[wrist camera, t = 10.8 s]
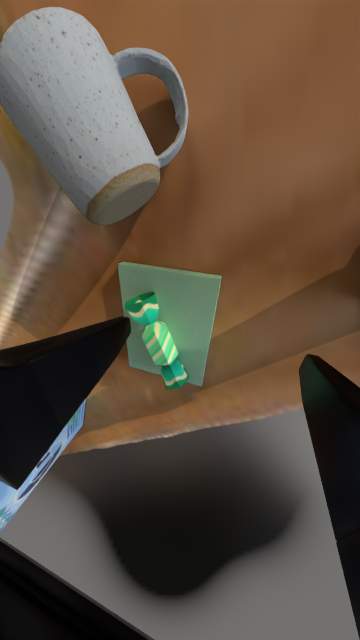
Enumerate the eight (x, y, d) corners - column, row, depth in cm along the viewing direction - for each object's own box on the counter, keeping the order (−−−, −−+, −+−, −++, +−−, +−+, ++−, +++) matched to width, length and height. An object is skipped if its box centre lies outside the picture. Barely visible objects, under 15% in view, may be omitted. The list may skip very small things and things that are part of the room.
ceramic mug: (123, 229, 19) (66, 235, 13) (70, 146, 17) (-32, 103, 11) (211, 152, 15) (191, 101, 8) (155, 21, 12) (62, -201, 6)
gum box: (83, 424, 48) (-22, 563, 29) (66, 415, 48) (-49, 547, 29) (89, 383, 37) (-74, 563, 18) (67, 371, 37) (-117, 536, 18)
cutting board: (222, 275, 19) (221, 279, 18) (202, 380, 27) (201, 386, 26) (123, 261, 21) (117, 263, 20) (133, 361, 30) (129, 366, 29)
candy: (124, 300, 21) (124, 309, 18) (151, 289, 22) (156, 296, 18) (161, 375, 26) (168, 395, 22) (183, 365, 26) (192, 383, 23)
